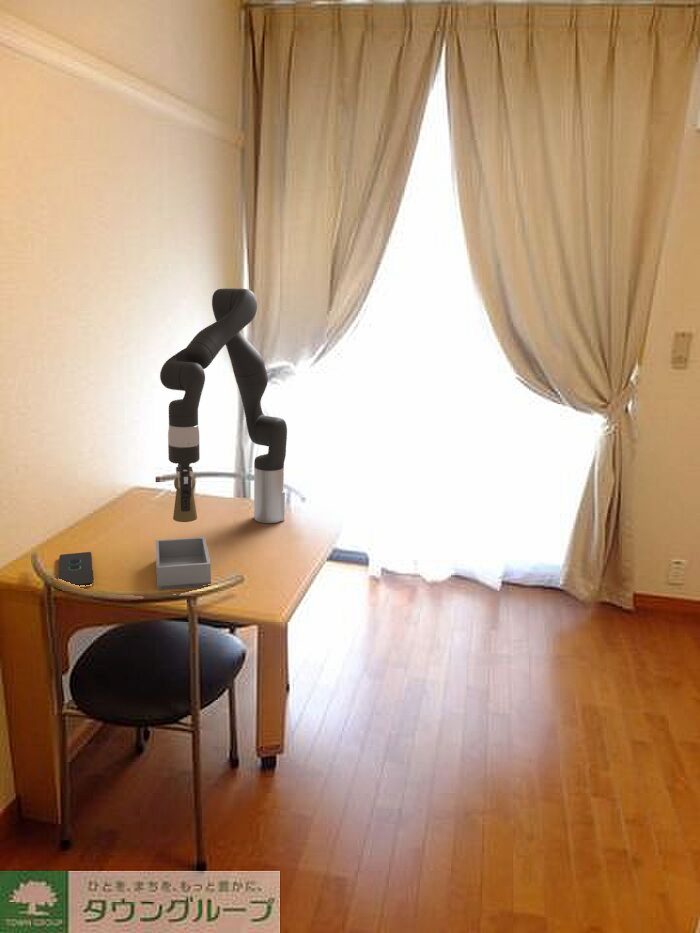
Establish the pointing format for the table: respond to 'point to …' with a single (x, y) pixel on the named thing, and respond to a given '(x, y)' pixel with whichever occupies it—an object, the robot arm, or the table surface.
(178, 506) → the olive pawn
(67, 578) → the smart home device
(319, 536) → the table surface
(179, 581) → the box
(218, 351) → the robot arm
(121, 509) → the table surface
